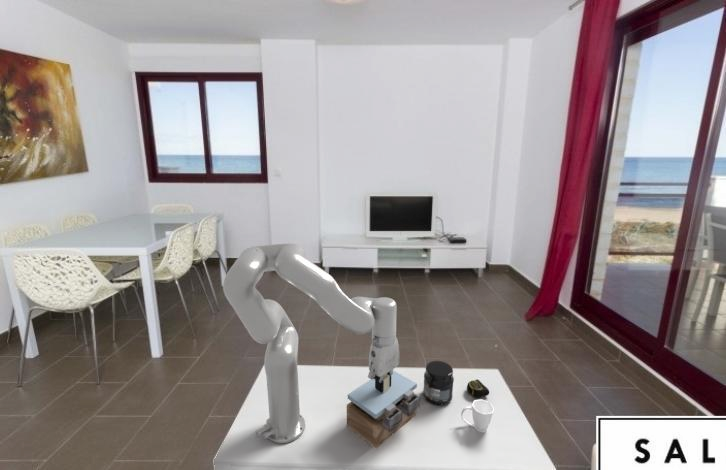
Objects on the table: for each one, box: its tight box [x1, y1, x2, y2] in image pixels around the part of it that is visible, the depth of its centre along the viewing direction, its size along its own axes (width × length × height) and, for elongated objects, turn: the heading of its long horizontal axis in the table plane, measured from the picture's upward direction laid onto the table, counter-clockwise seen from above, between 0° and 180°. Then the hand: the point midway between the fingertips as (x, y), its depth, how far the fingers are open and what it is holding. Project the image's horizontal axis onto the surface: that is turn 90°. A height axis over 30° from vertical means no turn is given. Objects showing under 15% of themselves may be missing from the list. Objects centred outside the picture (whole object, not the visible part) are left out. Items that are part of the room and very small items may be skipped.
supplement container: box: [422, 360, 455, 407], centre depth 130 cm, size 10×10×12 cm
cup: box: [460, 398, 495, 433], centre depth 116 cm, size 7×10×8 cm
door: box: [347, 369, 418, 419], centre depth 116 cm, size 20×14×6 cm
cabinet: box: [346, 393, 421, 449], centre depth 118 cm, size 20×16×10 cm
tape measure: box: [466, 379, 490, 399], centre depth 133 cm, size 7×7×4 cm
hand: (383, 387), depth 117 cm, fingers closed on door, 3 cm apart
